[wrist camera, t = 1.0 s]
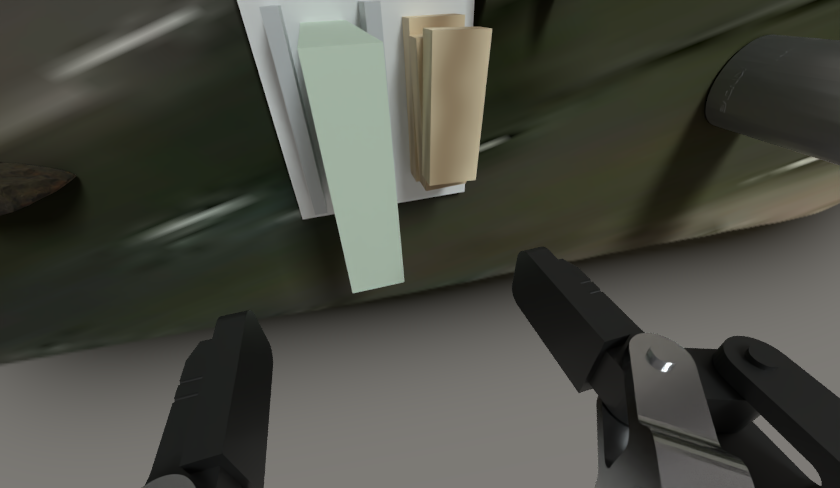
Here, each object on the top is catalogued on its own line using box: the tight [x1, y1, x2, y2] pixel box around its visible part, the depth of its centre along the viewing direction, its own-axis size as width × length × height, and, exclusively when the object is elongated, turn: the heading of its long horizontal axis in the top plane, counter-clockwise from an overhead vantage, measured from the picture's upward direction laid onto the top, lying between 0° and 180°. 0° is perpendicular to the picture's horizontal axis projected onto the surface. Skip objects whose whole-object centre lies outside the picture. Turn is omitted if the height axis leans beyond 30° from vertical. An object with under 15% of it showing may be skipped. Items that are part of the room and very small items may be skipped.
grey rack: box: [237, 0, 475, 219], centre depth 26 cm, size 16×18×4 cm
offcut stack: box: [402, 13, 492, 191], centre depth 25 cm, size 4×12×6 cm, turn 2°
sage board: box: [297, 20, 404, 293], centre depth 21 cm, size 3×12×14 cm, turn 2°
